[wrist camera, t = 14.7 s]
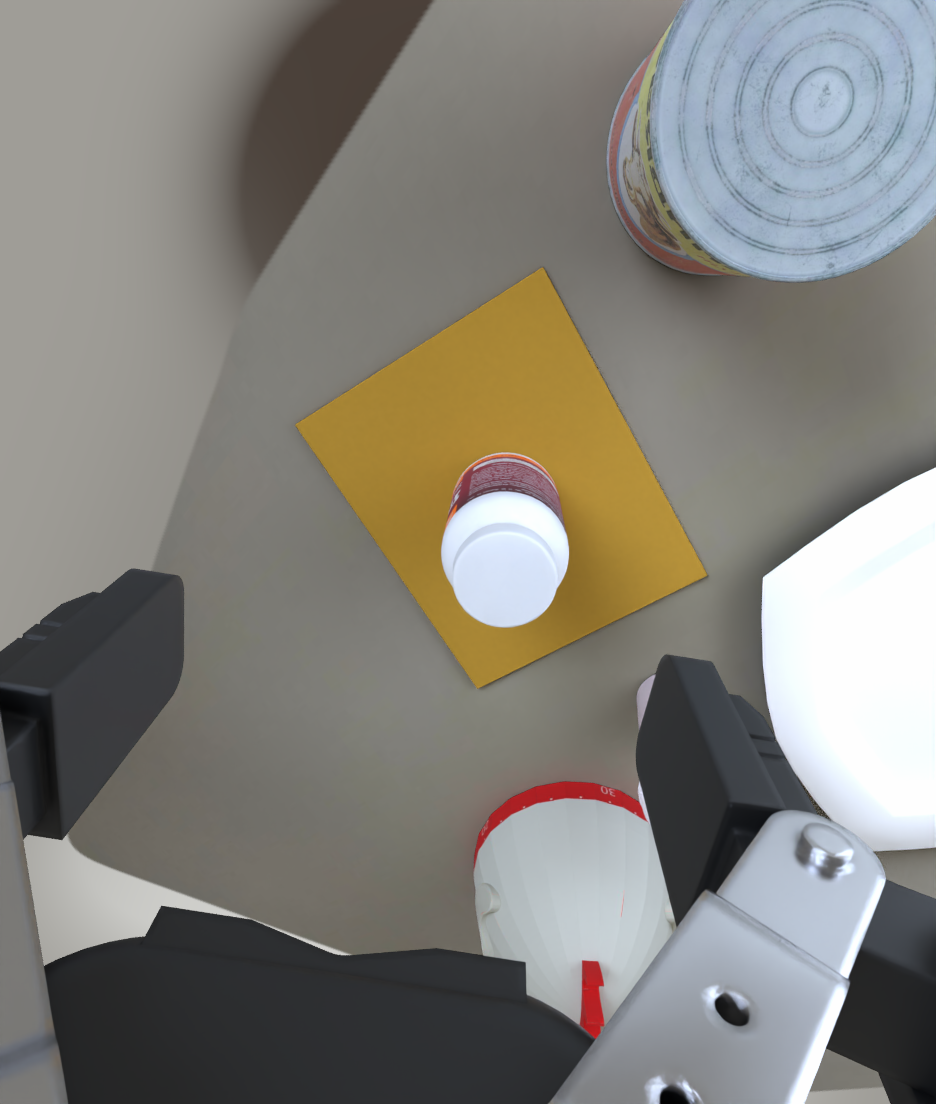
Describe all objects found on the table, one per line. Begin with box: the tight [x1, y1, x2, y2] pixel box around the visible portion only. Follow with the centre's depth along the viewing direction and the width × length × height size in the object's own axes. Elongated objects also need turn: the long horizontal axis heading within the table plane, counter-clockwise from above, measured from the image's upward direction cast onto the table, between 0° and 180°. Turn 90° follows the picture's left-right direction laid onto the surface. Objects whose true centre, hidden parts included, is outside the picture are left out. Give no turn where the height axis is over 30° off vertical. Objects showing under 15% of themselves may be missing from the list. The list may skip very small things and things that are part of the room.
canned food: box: [607, 0, 936, 283], centre depth 30 cm, size 11×11×12 cm
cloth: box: [295, 267, 707, 689], centre depth 42 cm, size 20×16×1 cm
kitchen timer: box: [474, 782, 677, 1039], centre depth 45 cm, size 14×14×15 cm
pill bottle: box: [441, 453, 569, 628], centre depth 37 cm, size 6×6×11 cm
